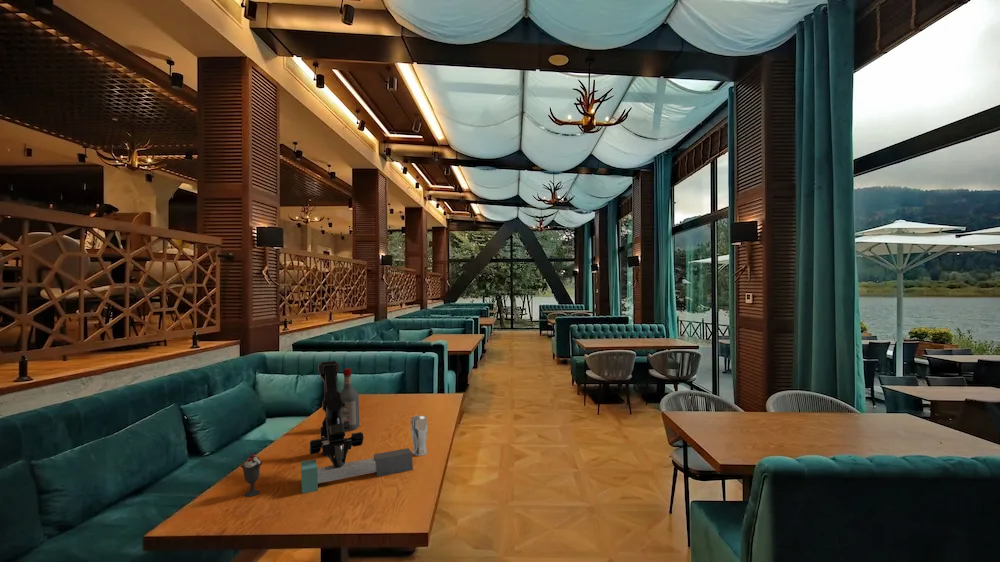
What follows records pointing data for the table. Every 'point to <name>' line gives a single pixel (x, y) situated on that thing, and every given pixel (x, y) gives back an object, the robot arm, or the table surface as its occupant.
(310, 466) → the socket block
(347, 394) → the liquor
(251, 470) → the sundae
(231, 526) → the table surface
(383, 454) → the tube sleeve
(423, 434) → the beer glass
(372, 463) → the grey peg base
